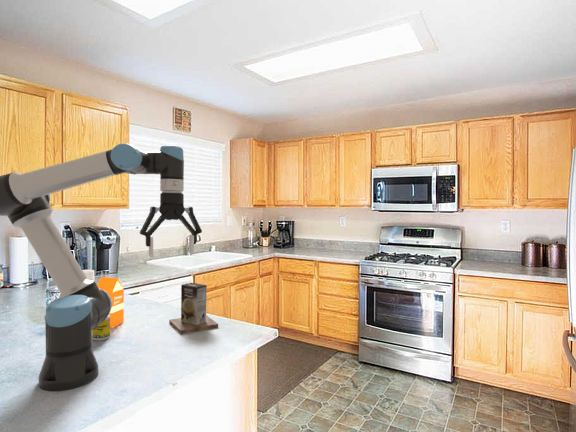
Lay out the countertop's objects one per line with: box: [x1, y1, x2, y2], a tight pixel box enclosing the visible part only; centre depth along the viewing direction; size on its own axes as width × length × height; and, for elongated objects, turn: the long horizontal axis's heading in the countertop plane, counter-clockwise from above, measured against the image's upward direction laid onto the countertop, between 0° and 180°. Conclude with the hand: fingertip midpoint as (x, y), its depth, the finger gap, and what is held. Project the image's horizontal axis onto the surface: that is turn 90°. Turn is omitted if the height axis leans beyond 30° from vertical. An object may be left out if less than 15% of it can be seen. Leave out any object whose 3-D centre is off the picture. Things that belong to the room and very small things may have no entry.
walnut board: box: [168, 314, 219, 335], centre depth 156 cm, size 16×16×2 cm
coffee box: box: [180, 282, 208, 325], centre depth 156 cm, size 9×6×16 cm
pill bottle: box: [92, 315, 111, 341], centre depth 140 cm, size 6×6×11 cm
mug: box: [82, 269, 95, 281], centre depth 220 cm, size 9×12×11 cm
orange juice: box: [97, 276, 125, 328], centre depth 157 cm, size 8×9×20 cm
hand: (171, 255), depth 123 cm, fingers open, 13 cm apart
